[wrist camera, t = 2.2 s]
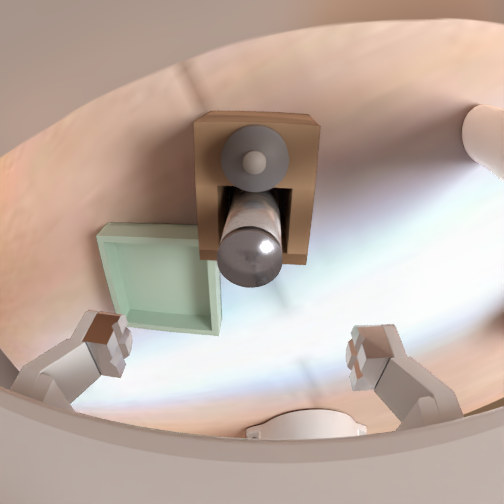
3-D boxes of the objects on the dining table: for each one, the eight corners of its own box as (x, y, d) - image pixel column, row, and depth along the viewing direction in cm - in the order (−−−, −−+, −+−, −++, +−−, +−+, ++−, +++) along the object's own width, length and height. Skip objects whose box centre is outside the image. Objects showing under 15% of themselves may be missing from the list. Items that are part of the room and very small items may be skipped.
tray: (221, 318, 32) (218, 335, 30) (127, 309, 32) (119, 325, 30) (218, 225, 27) (214, 240, 25) (107, 222, 27) (95, 235, 25)
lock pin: (276, 207, 26) (280, 288, 17) (236, 206, 26) (217, 285, 17) (279, 169, 24) (284, 233, 15) (236, 167, 24) (215, 230, 15)
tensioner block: (299, 224, 26) (308, 280, 20) (213, 221, 27) (194, 275, 20) (308, 114, 22) (325, 131, 15) (211, 110, 22) (185, 126, 15)
